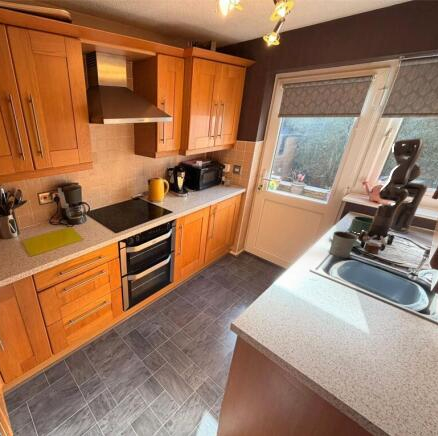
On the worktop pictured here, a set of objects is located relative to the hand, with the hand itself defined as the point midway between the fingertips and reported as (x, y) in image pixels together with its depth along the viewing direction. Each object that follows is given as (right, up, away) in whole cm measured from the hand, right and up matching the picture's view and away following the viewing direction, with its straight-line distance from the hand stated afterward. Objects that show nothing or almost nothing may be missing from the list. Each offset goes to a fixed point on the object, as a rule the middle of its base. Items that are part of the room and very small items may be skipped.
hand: (371, 249), depth 132 cm
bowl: (-6, +3, +11) cm, 13 cm away
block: (0, -1, +1) cm, 1 cm away
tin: (+17, +8, +24) cm, 31 cm away
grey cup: (-21, -3, -2) cm, 21 cm away
